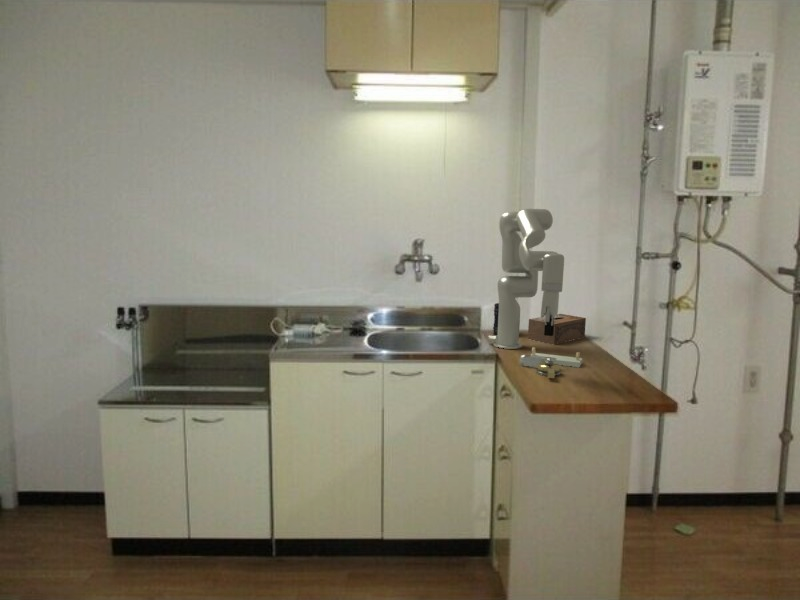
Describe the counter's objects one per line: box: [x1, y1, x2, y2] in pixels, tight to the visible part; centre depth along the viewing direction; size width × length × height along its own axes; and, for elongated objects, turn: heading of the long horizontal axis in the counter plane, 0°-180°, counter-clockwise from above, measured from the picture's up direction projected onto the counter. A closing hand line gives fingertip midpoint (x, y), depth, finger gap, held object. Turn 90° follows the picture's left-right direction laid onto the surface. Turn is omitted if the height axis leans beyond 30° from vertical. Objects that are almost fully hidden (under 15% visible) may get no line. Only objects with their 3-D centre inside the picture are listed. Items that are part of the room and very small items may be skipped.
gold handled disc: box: [537, 361, 561, 379], centre depth 227 cm, size 15×8×3 cm, turn 171°
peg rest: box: [530, 347, 583, 368], centre depth 247 cm, size 20×8×5 cm, turn 67°
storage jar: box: [492, 302, 499, 336], centre depth 299 cm, size 10×10×15 cm
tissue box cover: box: [527, 313, 587, 345], centre depth 293 cm, size 26×14×10 cm, turn 132°
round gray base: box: [535, 368, 562, 377], centre depth 231 cm, size 9×9×1 cm
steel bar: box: [519, 353, 556, 368], centre depth 240 cm, size 4×14×4 cm, turn 67°
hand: (548, 335), depth 230 cm, fingers closed
